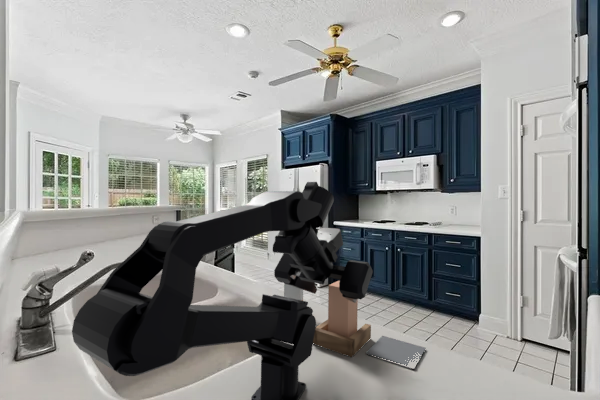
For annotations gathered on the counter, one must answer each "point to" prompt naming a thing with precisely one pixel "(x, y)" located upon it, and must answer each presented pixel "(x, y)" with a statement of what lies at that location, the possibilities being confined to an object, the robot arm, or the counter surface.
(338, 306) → the block
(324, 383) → the counter surface
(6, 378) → the counter surface
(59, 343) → the counter surface
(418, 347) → the mat
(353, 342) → the u-shaped frame
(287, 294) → the skincare box
